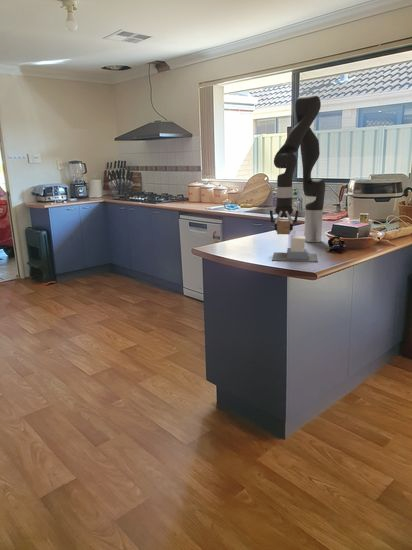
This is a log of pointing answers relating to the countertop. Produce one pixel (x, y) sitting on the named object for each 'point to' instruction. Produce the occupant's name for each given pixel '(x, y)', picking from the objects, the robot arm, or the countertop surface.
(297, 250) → the white block
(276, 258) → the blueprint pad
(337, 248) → the toy
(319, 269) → the countertop surface
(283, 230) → the walnut block
